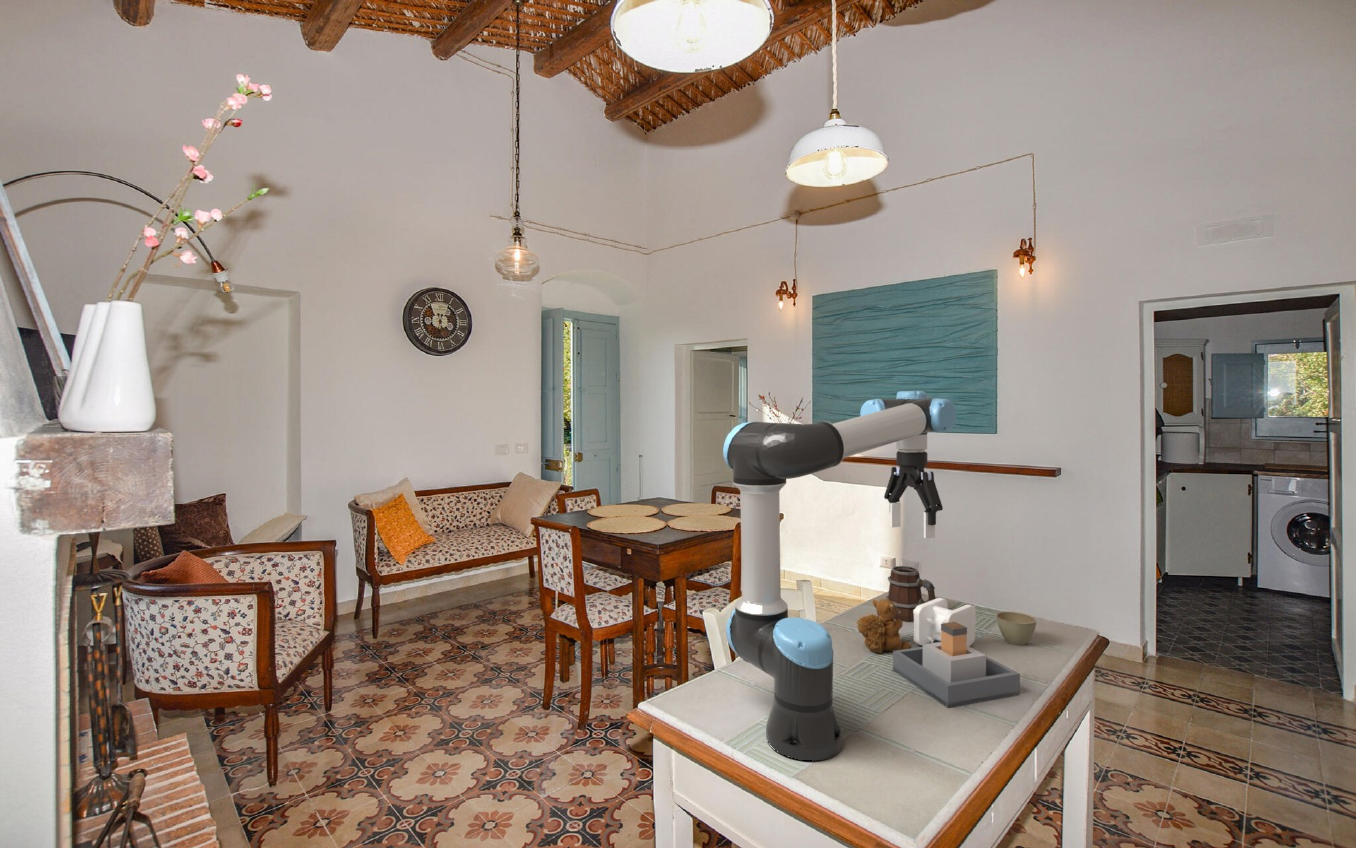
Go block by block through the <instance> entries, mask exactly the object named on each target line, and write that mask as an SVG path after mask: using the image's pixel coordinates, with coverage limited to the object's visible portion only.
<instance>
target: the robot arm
mask: <svg viewBox="0 0 1356 848" xmlns="http://www.w3.org/2000/svg"><path fill="white" fill-rule="evenodd" d="M956 410H957V409H956V406H955V405H954V403H953V402H952V400H950V399H946V398H937V397H935V398H928V394H927V392H926V391H923V390H912V391H911V390H909V391H908V390H907V391H906V390H905V391H900V390H899V391H898V392H897V393H896V398H875V399H867V400H866V401H865V402H864V403H863V404H862V406H861V408H860V410H859V411H860V412H859V413H860V414H859V415H860V416H856V417H854V418H853V417H852V418H848V419H845V420H842V421H838V422H833V423H832V422H829V421H820V422H815V423H803V424H802V423H788V422H787V423H786V422H768V421H767V422H766V421H765V422H764V421H749V422H743V423H739V424H738V425H736V426H735V427H733V428H732V429H731V431H730V432H729V433H728V434H727V436H726V437H725V440H724V442H723V443H724V444H723V448H722V450H723V451H722V455H723V459H724V462H725V464H726V465H728V468H729V469H731V470H732V471H733V473H732V474H733V475H732V476H733V477H732V478H733V479H732V480H733V482H732V483H733V485H734V486H735V487H736V488H737V489H738V490H739V491H740V492H739V493H740V494H739V495H740V496H739V497H740V554H741V555H740V556H741V557H740V558H741V563H740V564H741V566H740V567H741V597H740V598H739V599H738V600H736V602H735V604H734V605H735V606H734V607H735V608H734V609H733V610H732V612H731V613H730V616H729V617H728V618H727V622H726V625H725V626H726V627H725V635H726V636H725V637H726V640H727V643H728V645H729V647H730V648H731V650H732V651H733V653H735V654H736V655H737V656H738V657H739V658H741V659H742V660H743V661H744V662H747V663H748V664H751V665H753V666H754V667H755V668H757V669H759V670H760V671H762V672H764V673H766V674H768V675H769V676H771V677H772V678H773V679H774V681H773V683H774V688H773V689H774V695H773V696H774V701H773V704H772V706H771V710H770V712H769V716H768V719H767V721H766V726H765V739H766V738H767V740H768V742H769V743H770V745H771V746H772V747H773V748H774V749H775V750H776V751H778V752H779V753H781V754H782V756H783V755H786V756H789V757H791V758H790V759H792V758H795V759H794V760H796V759H798V760H797V761H802V760H812V761H811V762H817V761H816V760H819V761H824V760H828V759H830V758H832V757H834V756H836V755H837V754H838V753H839V752H840V751H841V749H842V746H843V745H842V743H843V742H842V741H843V739H842V734H843V733H842V729H841V727H840V723H839V721H838V718H837V715H836V712H835V709H834V705H833V695H834V693H833V692H834V691H833V689H834V688H833V687H834V686H833V685H834V676H833V675H834V649H833V640H832V636H831V634H830V632H829V631H828V630H827V628H825V627H824V626H823V625H822V624H821V623H818V622H817V621H814V620H812V619H809V618H808V619H803V618H802V617H793V616H792V617H789V611H788V609H789V606H788V603H787V602H786V601H785V600H784V599H783V598H782V596H781V594H782V593H781V592H782V591H781V587H782V586H781V519H780V518H781V517H780V516H781V513H780V511H781V510H780V509H781V508H780V506H781V505H780V491H781V490H782V489H783V488H784V487H785V486H786V485H787V480H791V479H797V478H800V477H801V478H802V477H805V476H809V475H812V474H815V473H819V472H822V471H824V470H828V469H830V468H834V467H836V466H838V465H840V464H841V463H842V462H843V460H844V459H846V458H849V457H852V456H855V455H858V454H862V453H864V452H865V453H866V452H868V451H871V450H875V449H877V448H880V447H883V446H884V447H885V446H886V445H890V444H893V443H896V445H895V447H896V448H895V449H897V450H898V451H897V452H896V455H895V456H896V457H895V458H896V465H897V466H892V467H891V471H890V472H891V473H890V477H889V480H888V483H887V487H886V489H885V493H884V495H883V497H884V499H885V500H887V501H888V503H889V515H890V517H889V518H890V519H889V523H890V524H889V527H890V528H901V522H902V521H901V515H902V514H901V513H902V511H901V506H902V505H901V500H900V499H901V498H902V496H903V494H904V493H905V491H906V490H907V488H908V487H910V488H913V490H915V491H916V492H917V493H916V494H917V495H918V497H919V498H920V500H921V503H922V505H923V507H924V511H923V539H933V538H935V537H936V524H937V512H940V511H943V509H944V507H943V504H942V501H941V499H940V495H939V491H938V488H937V485H936V482H935V475H934V474H935V473H934V471H925V467H927V466H928V452H927V451H926V450H928V433H929V432H934V433H935V432H936V433H940V432H943V433H944V432H948V431H950V430H951V429H952V428H953V427H954V426H955V423H956V420H957V413H956V412H957V411H956ZM767 740H766V741H767ZM768 742H767V743H768ZM770 745H769V746H770ZM774 749H773V750H774ZM775 750H774V751H775ZM776 751H775V752H776ZM778 752H777V753H778ZM779 753H778V754H779ZM781 754H780V755H781ZM786 756H785V757H786ZM789 757H788V758H789ZM814 760H815V761H814Z"/></svg>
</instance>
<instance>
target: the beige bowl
mask: <svg viewBox="0 0 1356 848" xmlns="http://www.w3.org/2000/svg"><path fill="white" fill-rule="evenodd" d="M995 617H996V622H997V625H998V626H997V627H998V629H999V630H1000V633H1001V636H1002V637H1003V638H1004V640H1005V642H1006V643H1008V644H1011V645H1014V646H1025V645H1027V644H1028V642H1030V640H1031V638H1032V636H1033V634H1034V632H1035V629H1036V625H1037V619H1036V618H1035V617H1034V616H1032V615H1030V614H1027V613H1023V612H1016V611H1015V612H1014V611H1000V612H999V611H998V612H997V613H996V615H995Z"/></svg>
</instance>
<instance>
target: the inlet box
mask: <svg viewBox="0 0 1356 848" xmlns="http://www.w3.org/2000/svg"><path fill="white" fill-rule="evenodd" d="M892 659H893V660H892V671H893V672H895V673H896V674H898V675H899V676H901V677H902V678H904V680H906V681H908V682H909V683H911V684H912V685H914V686H915V687H917V688H918V689H920V690H921V691H922V692H924V693H926V694H927V695H929V696H930V697H931V698H932V699H934V700H936V701H937V702H938V703H940V704H941V705H943V706H945V707H946V708H949V709H950V708H955V707H960V706H967V705H971V704H977V703H982V702H987V701H992V700H993V701H994V700H999V699H1004V698H1009V697H1015V696H1020V695H1021V694H1020V693H1021V692H1020V691H1021V687H1020V685H1021V683H1020V682H1021V674H1020V673H1019V672H1017V671H1015V670H1013V669H1012V668H1010V667H1008V666H1006V665H1004V664H1002V663H1001V662H998V661H996V660H994V659H992V658H991V657H989V656H987V655H986V654H984V653H982V652H980V651H979V650H977V649H975V648H973V647H971V646H970V647H969V646H967V654H964V655H957V656H951V655H949V654H947V653H945V652H944V651H942V650H941V641H937V642H933V643H931V642H930V643H929V644H923V646H919V647H918V646H917V647H911V648H910V649H904V650H897V651H893V652H892Z"/></svg>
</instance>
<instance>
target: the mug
mask: <svg viewBox="0 0 1356 848" xmlns="http://www.w3.org/2000/svg"><path fill="white" fill-rule="evenodd" d="M887 580H888V582H889V587H888V588H889V589H888V595H886V597H885V599H888V600H890V601H892V602H893V603H894V605H895V607H897V608H898V609H897V610H898V612H897V610H896V612H895V615H894V618H893V619H894V620H895V621H896V620H898V619H900V620H901V621H902V622H909V623H910V622H913V623H914V614H913V610H915V608H916V607H917V606H918V605H921V604H923V603H926V602H929V601H932V600H934V599H936V593H935V588H936V587H935V586H934V584H933V583H932V582H931V581H930V580H928V579H926V578H924V579H921V578H920V572H919V570H918V569H917V568H916V567H913V566H905V565H902V566H901V565H900V566H899V565H898V566H894V567H892V568H891V570H890V576H888V577H887ZM922 587H923V589H925V591H927V596H928V598H927V599H926V600H924V599H923V595H922ZM899 611H900V612H901V613H900V612H899ZM898 613H899V614H898Z"/></svg>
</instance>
